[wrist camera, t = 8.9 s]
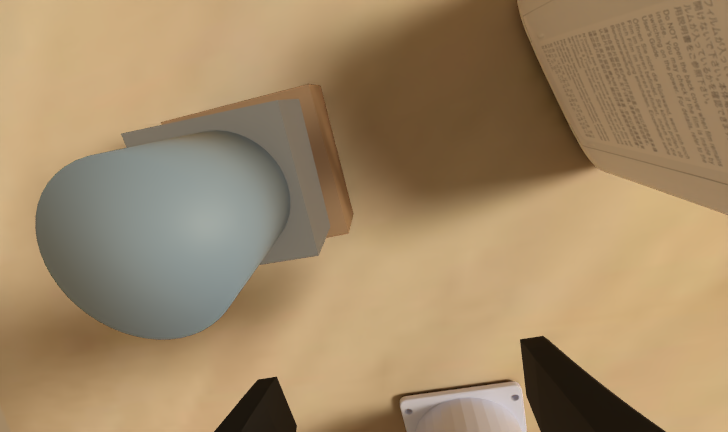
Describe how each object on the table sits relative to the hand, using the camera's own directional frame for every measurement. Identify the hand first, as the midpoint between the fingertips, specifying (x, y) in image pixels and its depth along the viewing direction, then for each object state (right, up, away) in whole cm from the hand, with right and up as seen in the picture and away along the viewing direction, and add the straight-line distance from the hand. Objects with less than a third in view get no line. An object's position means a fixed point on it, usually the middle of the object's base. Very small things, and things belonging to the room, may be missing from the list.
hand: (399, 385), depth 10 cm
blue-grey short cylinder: (-6, +6, +3) cm, 9 cm away
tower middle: (-6, +7, +6) cm, 11 cm away
